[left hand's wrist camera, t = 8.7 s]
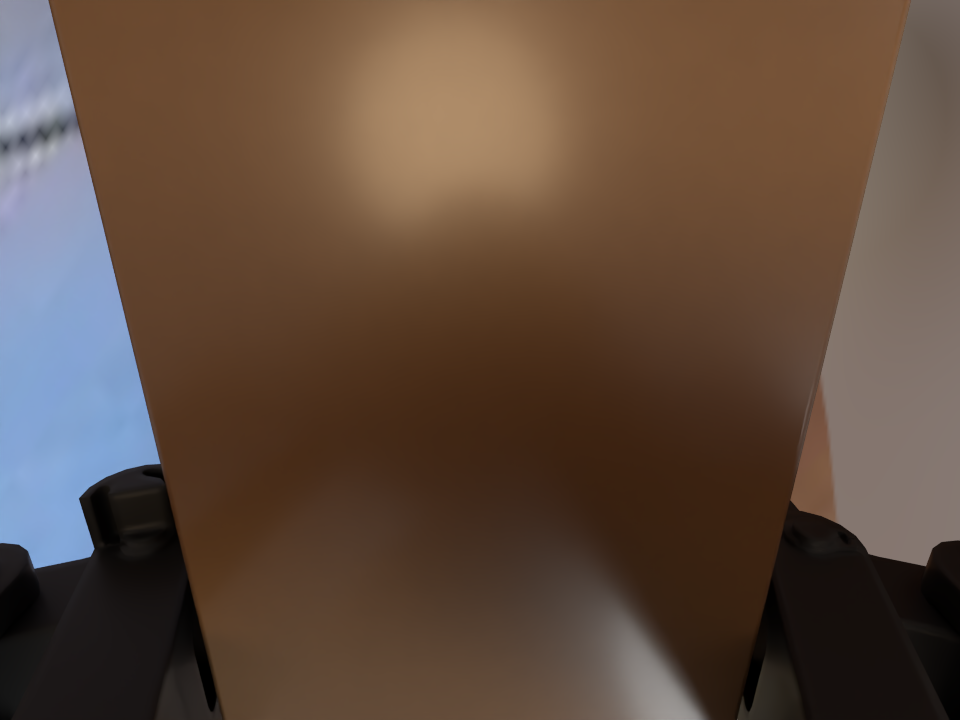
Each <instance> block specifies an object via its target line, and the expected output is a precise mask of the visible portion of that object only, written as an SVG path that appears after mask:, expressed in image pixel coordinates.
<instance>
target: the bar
mask: <svg viewBox="0 0 960 720" xmlns="http://www.w3.org/2000/svg"><path fill="white" fill-rule="evenodd" d="M910 3H911V0H49V4H50V9H51V13H52V17H53V21H54V25H55V29H56V33H57V37H58V42H59V46H60V50H61V54H62V58H63V62H64V66H65V70H66V75H67V79H68V83H69V87H70V91H71V95H72V99H73V104H74V108H75V112H76V116H77V120H78V124H79V128H80V132H81V137H82V141H83V145H84V149H85V153H86V157H87V161H88V166H89V170H90V174H91V178H92V182H93V186H94V190H95V194H96V199H97V203H98V207H99V211H100V215H101V219H102V223H103V228H104V232H105V236H106V240H107V244H108V248H109V252H110V256H111V261H112V265H113V269H114V273H115V277H116V281H117V285H118V290H119V294H120V298H121V302H122V306H123V310H124V314H125V318H126V323H127V327H128V331H129V335H130V339H131V343H132V347H133V352H134V356H135V360H136V364H137V368H138V372H139V376H140V380H141V385H142V389H143V393H144V397H145V401H146V405H147V409H148V414H149V418H150V422H151V426H152V430H153V434H154V438H155V442H156V447H157V451H158V455H159V459H160V463H161V467H162V471H163V476H164V480H165V484H166V488H167V492H168V496H169V500H170V504H171V509H172V513H173V517H174V521H175V525H176V529H177V533H178V538H179V542H180V546H181V550H182V554H183V558H184V562H185V566H186V571H187V575H188V579H189V583H190V587H191V591H192V595H193V600H194V604H195V608H196V612H197V616H198V620H199V624H200V628H201V633H202V637H203V641H204V645H205V649H206V653H207V657H208V662H209V666H210V670H211V674H212V678H213V682H214V686H215V690H216V695H217V699H218V703H219V707H220V711H221V715H222V719H223V720H737V718H738V713H739V709H740V705H741V701H742V697H743V693H744V689H745V685H746V680H747V676H748V672H749V668H750V664H751V660H752V656H753V651H754V647H755V643H756V639H757V635H758V631H759V627H760V623H761V618H762V614H763V610H764V606H765V602H766V598H767V594H768V589H769V585H770V581H771V577H772V573H773V569H774V565H775V561H776V556H777V552H778V548H779V544H780V540H781V536H782V532H783V527H784V523H785V519H786V515H787V511H788V507H789V503H790V499H791V494H792V490H793V486H794V482H795V478H796V474H797V470H798V465H799V461H800V457H801V453H802V449H803V445H804V441H805V437H806V432H807V428H808V424H809V420H810V416H811V412H812V408H813V403H814V399H815V395H816V391H817V387H818V383H819V379H820V375H821V370H822V366H823V362H824V358H825V354H826V350H827V346H828V341H829V337H830V333H831V329H832V325H833V321H834V317H835V313H836V308H837V304H838V300H839V296H840V292H841V288H842V284H843V279H844V275H845V271H846V267H847V263H848V259H849V255H850V251H851V246H852V242H853V238H854V234H855V230H856V226H857V221H858V218H859V213H860V209H861V205H862V201H863V197H864V193H865V188H866V184H867V180H868V176H869V172H870V168H871V164H872V160H873V156H874V151H875V147H876V143H877V139H878V135H879V131H880V127H881V122H882V118H883V114H884V110H885V106H886V102H887V97H888V93H889V89H890V85H891V81H892V77H893V73H894V69H895V64H896V60H897V56H898V52H899V48H900V44H901V40H902V36H903V32H904V27H905V23H906V19H907V15H908V11H909V7H910Z"/></svg>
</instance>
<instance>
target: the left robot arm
mask: <svg viewBox="0 0 960 720" xmlns="http://www.w3.org/2000/svg"><path fill="white" fill-rule="evenodd" d="M79 500H80V503H81V507H82V510H83V513H84V516H85V519H86V523H87V526H88V529H89V532H90V535H91V539H92V542H93V545H94V548H95V549H94V551H93V553H92V555H91V557H88V558H85V559H80V560H75V561H71V562H66V563H61V564H56V565H51V566H46V567H41V568H36V569H34V567H33V564H32V561H31V559H30V556H29V553H28V551H27V550H26V549H24V548H23V547H21V546H20V545H16V544H6V543H0V720H223V719H222V715H221V711H220V707H219V703H218V699H217V695H216V690H215V686H214V682H213V678H212V674H211V670H210V666H209V662H208V657H207V653H206V649H205V645H204V641H203V637H202V633H201V628H200V624H199V620H198V616H197V612H196V608H195V604H194V600H193V595H192V591H191V587H190V583H189V579H188V575H187V571H186V566H185V562H184V558H183V554H182V550H181V546H180V542H179V538H178V533H177V529H176V525H175V521H174V517H173V513H172V509H171V504H170V500H169V496H168V492H167V488H166V484H165V480H164V476H163V471H162V467H161V464H154V465H144V466H139V467H135V468H130V469H126V470H123V471H121V472H118V473H116V474H113V475H111V476H108V477H106V478H104V479H102V480H101V481H99V482H98V483H96V484H94V485H93V486H91V487H89V488H88V490H87V491H86V492H85V493H84V494H83V495H82V496H81V497H80V498H79ZM737 719H738V720H960V541H948V542H941V543H940V544H938V545H937V546H935V547H934V548H933V549H932V552H931V554H930V557H929V560H928V563H927V565H926V566H921V565H917V564H911V563H907V562H902V561H897V560H892V559H887V558H882V557H877V556H874V555H870V554H868V552H867V550H866V548H865V547H864V546H863V544H862V543H861V542H860V541H859V539H858V538H857V537H856V536H855V535H854V534H852V533H851V532H850V531H848V530H847V529H845V528H844V527H843V526H841V525H840V524H837V523H835V522H833V521H831V520H829V519H826V518H824V517H822V516H818V515H815V514H811V513H807V512H803V511H799V510H798V509H797V508H796V506H795V505H794V504H793V503H792V502H791V501H790V503H789V507H788V511H787V515H786V519H785V523H784V527H783V532H782V536H781V540H780V544H779V548H778V552H777V556H776V561H775V565H774V569H773V573H772V577H771V581H770V585H769V589H768V594H767V598H766V602H765V606H764V610H763V614H762V618H761V623H760V627H759V631H758V635H757V639H756V643H755V647H754V651H753V656H752V660H751V664H750V668H749V672H748V676H747V680H746V685H745V689H744V693H743V697H742V701H741V705H740V709H739V713H738V718H737Z"/></svg>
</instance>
